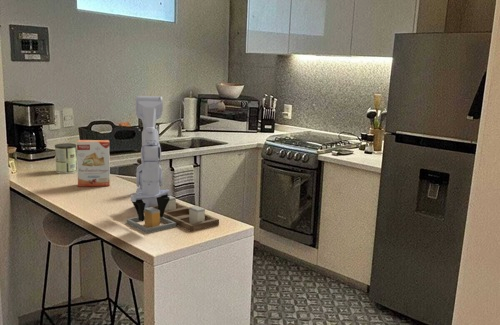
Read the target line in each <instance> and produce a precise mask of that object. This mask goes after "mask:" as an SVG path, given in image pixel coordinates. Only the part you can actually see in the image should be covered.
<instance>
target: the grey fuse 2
mask: <svg viewBox="0 0 500 325" xmlns="http://www.w3.org/2000/svg"><path fill="white" fill-rule="evenodd" d="M188 207H189V223H190V224H194V223H198V222H203V221H205V214H206V209H205V208H203V207H201V206H198V205H194V206H193V205H191V206H188Z"/></svg>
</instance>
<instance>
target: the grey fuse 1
mask: <svg viewBox="0 0 500 325" xmlns="http://www.w3.org/2000/svg"><path fill="white" fill-rule="evenodd" d="M168 197H169V198H170V200H169V202H168V204H167V206H166V208H165V211H168V210H173V209H176V202H177V198H176V197H174V196H172V195H170V196H168Z"/></svg>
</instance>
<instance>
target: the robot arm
mask: <svg viewBox="0 0 500 325" xmlns="http://www.w3.org/2000/svg"><path fill="white" fill-rule="evenodd" d="M163 104H164V103H163V96H162V95H159V96H156V95H155V96H153V95H136V96H135V115H136V118H137V119H140V120H141V122H142V124H143V126H142V127H143V128H142V131H141V147H140V148H141V149H140V158H141V161H142V164H139V165H138V166H137V167H136V173H135V175H136V178H135V179H136V180H135V181H136V183H135V186H136V187H137V189H136V190H135V194H131V195H130V202H131V203H132V204H133V206H134V208H135V211H136V213H137V217H138V218H139V220H140V221H139V222H145V220H144V215H145V208H148V207H149V206H155V205H158V210H160V217H163V215H164V211H165V208H166V206H167V204H168V202H169V200H170V198H169V197H168V196H171V190H169V189H168V188H167V189H160V187H161V188H162V186H163V180H164V179H163V169H162V166H161V165H160V162H161V160H162V148H161V144H160V139H159V138H160V136H159V133H160V132H159V131H158V129H157V128H156V123H157V122H156V121H157V120H159V119H160V118H162V115H163V108H164V107H163V106H164V105H163ZM141 170H142V171H141ZM139 182H140V185H139Z"/></svg>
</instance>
